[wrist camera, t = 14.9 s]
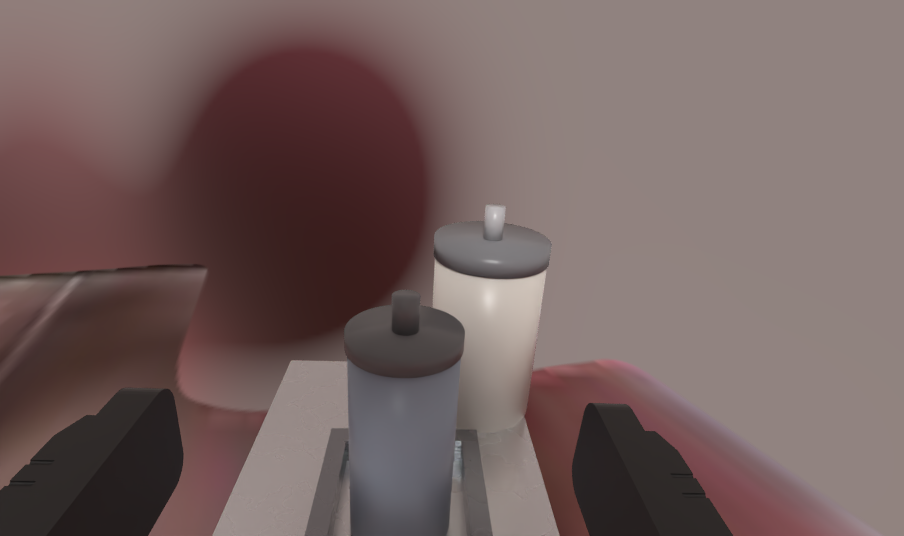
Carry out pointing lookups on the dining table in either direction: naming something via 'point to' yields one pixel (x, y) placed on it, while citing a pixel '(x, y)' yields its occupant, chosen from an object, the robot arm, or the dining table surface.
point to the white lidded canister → (492, 313)
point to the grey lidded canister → (402, 416)
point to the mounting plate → (327, 470)
